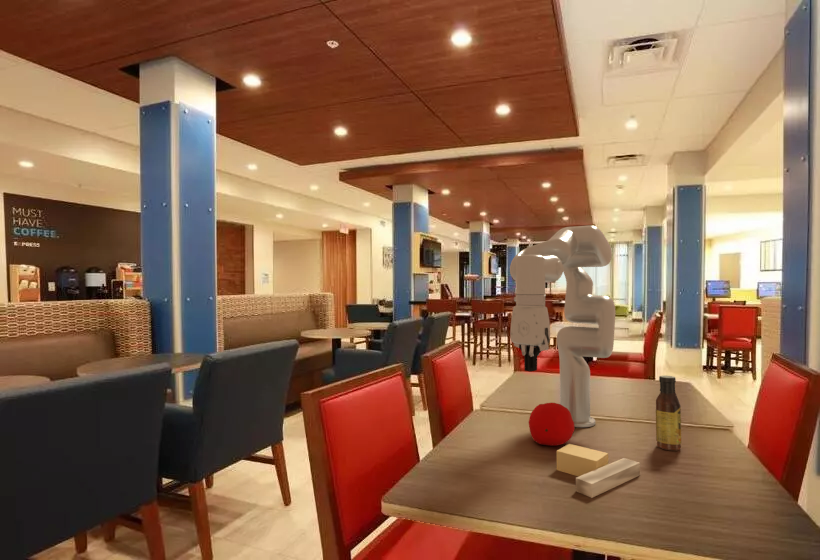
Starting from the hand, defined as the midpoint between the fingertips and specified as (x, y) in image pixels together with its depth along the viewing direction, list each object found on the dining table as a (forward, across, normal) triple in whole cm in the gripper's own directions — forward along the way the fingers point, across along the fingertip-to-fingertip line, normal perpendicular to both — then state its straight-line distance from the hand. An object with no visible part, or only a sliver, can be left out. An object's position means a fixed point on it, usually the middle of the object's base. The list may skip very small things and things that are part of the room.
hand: (530, 370), depth 126 cm
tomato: (+23, -4, +14) cm, 28 cm away
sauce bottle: (+23, +18, +37) cm, 47 cm away
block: (+23, +13, +3) cm, 27 cm away
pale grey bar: (+23, +21, +2) cm, 31 cm away
